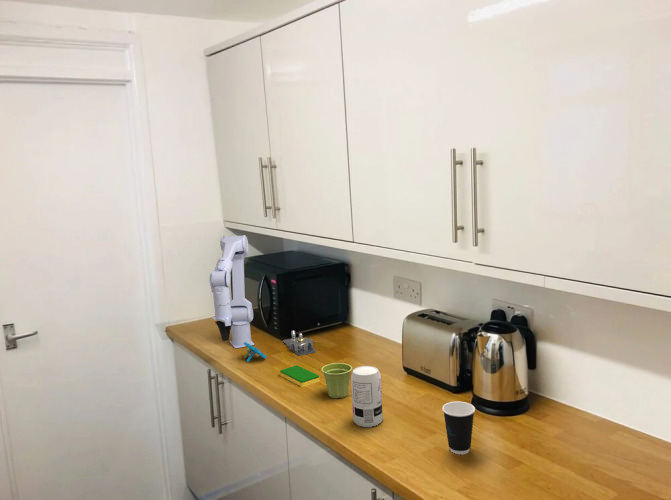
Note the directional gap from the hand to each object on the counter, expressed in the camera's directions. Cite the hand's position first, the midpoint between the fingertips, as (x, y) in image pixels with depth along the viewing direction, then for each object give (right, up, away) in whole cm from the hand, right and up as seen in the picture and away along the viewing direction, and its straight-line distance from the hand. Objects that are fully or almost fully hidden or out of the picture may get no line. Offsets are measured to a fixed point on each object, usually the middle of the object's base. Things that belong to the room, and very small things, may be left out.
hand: (225, 340), depth 214 cm
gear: (+10, -8, +6) cm, 14 cm away
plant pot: (+41, -13, -30) cm, 52 cm away
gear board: (+26, -5, +16) cm, 31 cm away
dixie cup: (+71, -17, -67) cm, 99 cm away
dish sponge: (+28, -11, -15) cm, 33 cm away
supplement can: (+49, -15, -49) cm, 71 cm away
